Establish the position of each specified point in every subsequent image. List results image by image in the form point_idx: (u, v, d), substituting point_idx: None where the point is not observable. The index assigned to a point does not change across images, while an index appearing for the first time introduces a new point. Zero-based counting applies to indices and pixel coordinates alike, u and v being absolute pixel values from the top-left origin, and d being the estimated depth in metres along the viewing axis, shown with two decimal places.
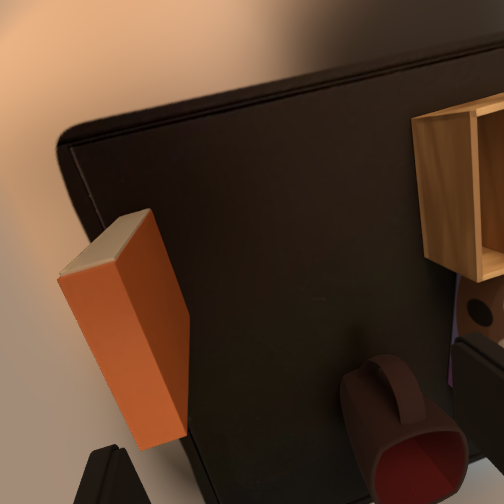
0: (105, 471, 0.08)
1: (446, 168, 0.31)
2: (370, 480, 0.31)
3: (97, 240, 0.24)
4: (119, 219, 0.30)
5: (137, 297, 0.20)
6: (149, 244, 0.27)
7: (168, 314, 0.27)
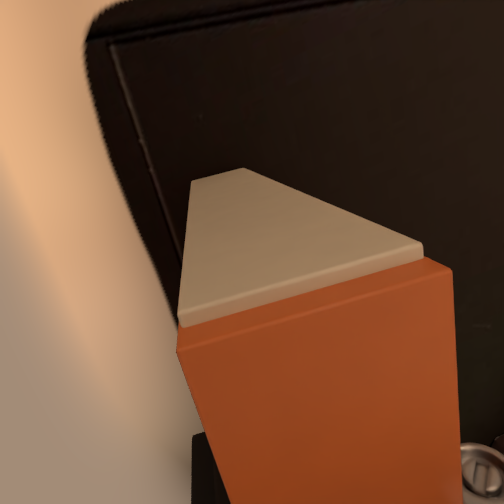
0: None
1: None
2: None
3: (200, 207, 0.10)
4: (198, 182, 0.16)
5: None
6: None
7: None
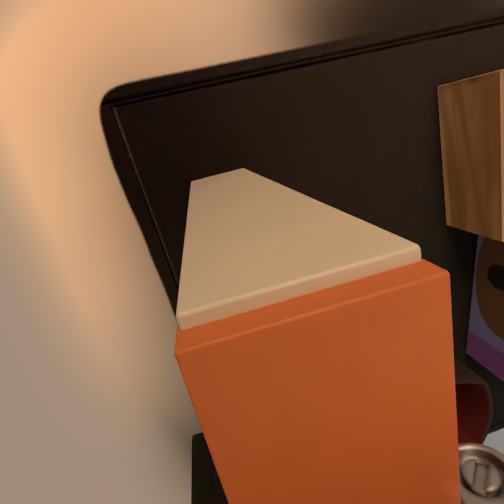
0: None
1: (472, 131, 0.33)
2: None
3: (199, 209, 0.10)
4: (198, 183, 0.16)
5: None
6: None
7: None
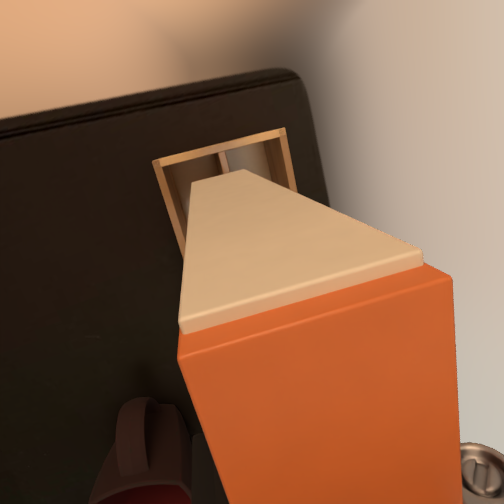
0: None
1: None
2: None
3: (200, 210, 0.10)
4: (198, 184, 0.16)
5: None
6: None
7: None
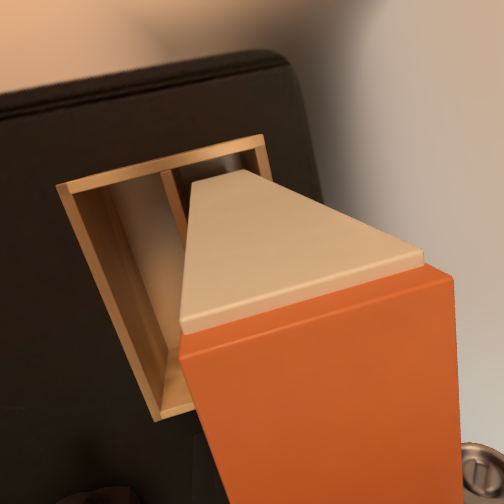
0: None
1: None
2: None
3: (201, 210, 0.10)
4: (199, 184, 0.16)
5: None
6: None
7: None
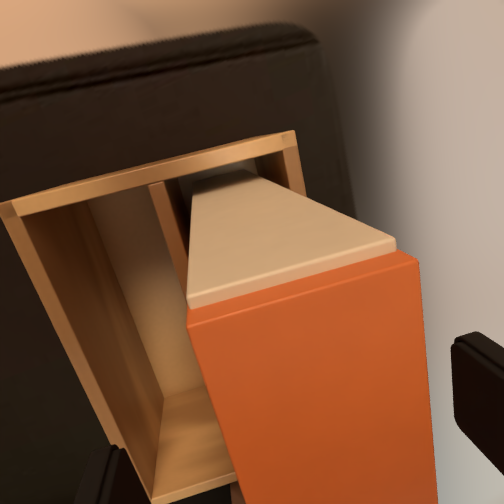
0: (105, 471, 0.08)
1: None
2: None
3: (202, 207, 0.10)
4: (200, 183, 0.17)
5: None
6: None
7: None
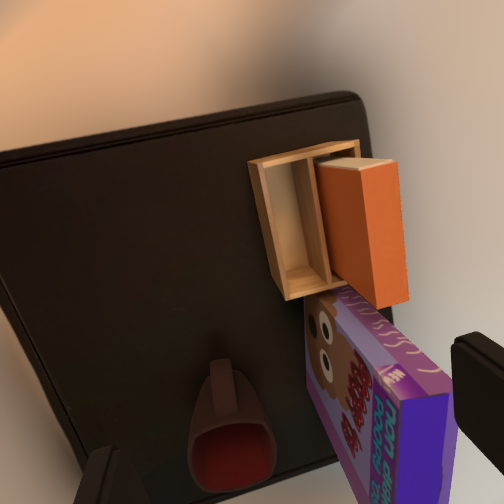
0: (105, 471, 0.08)
1: (261, 205, 0.38)
2: (188, 462, 0.37)
3: (333, 164, 0.32)
4: None
5: None
6: None
7: None
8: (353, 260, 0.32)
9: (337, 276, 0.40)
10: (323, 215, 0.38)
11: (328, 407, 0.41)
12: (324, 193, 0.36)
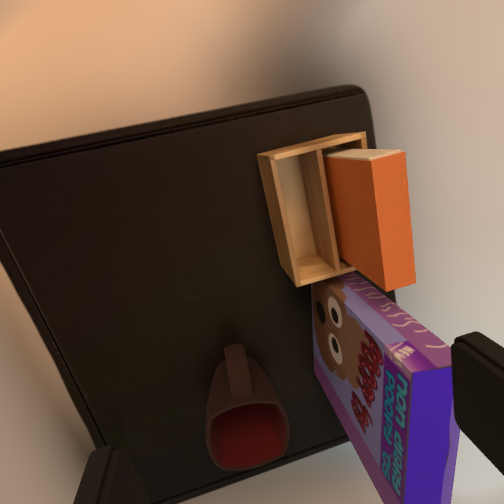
0: (105, 471, 0.08)
1: (272, 196, 0.40)
2: (206, 442, 0.39)
3: (342, 155, 0.34)
4: None
5: None
6: None
7: None
8: (362, 246, 0.34)
9: (344, 263, 0.42)
10: (331, 205, 0.40)
11: (337, 388, 0.43)
12: (333, 183, 0.37)
